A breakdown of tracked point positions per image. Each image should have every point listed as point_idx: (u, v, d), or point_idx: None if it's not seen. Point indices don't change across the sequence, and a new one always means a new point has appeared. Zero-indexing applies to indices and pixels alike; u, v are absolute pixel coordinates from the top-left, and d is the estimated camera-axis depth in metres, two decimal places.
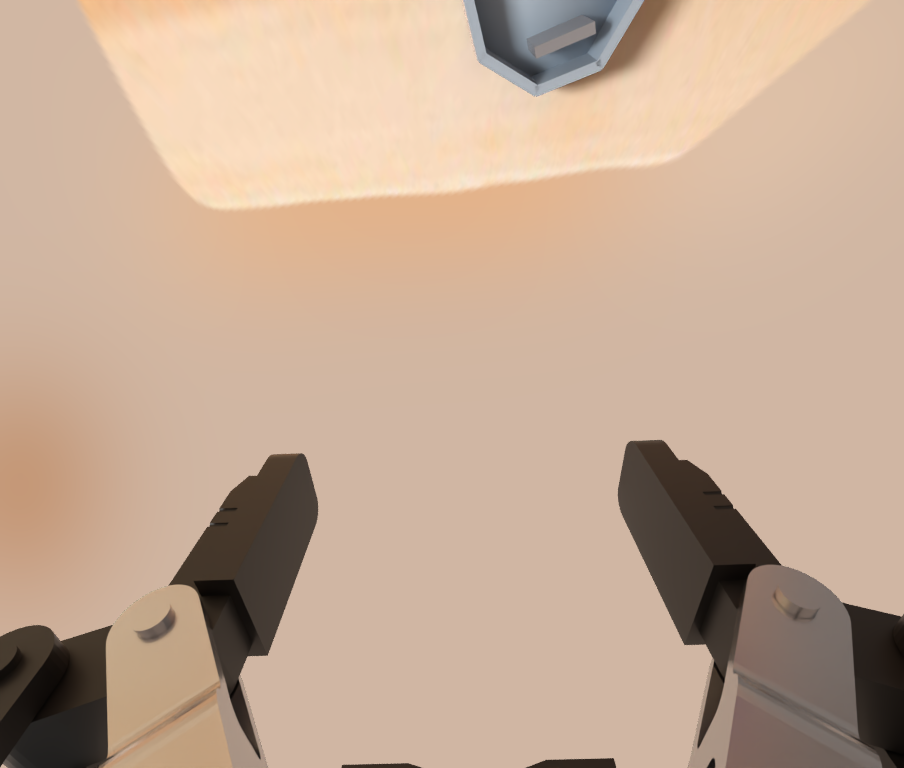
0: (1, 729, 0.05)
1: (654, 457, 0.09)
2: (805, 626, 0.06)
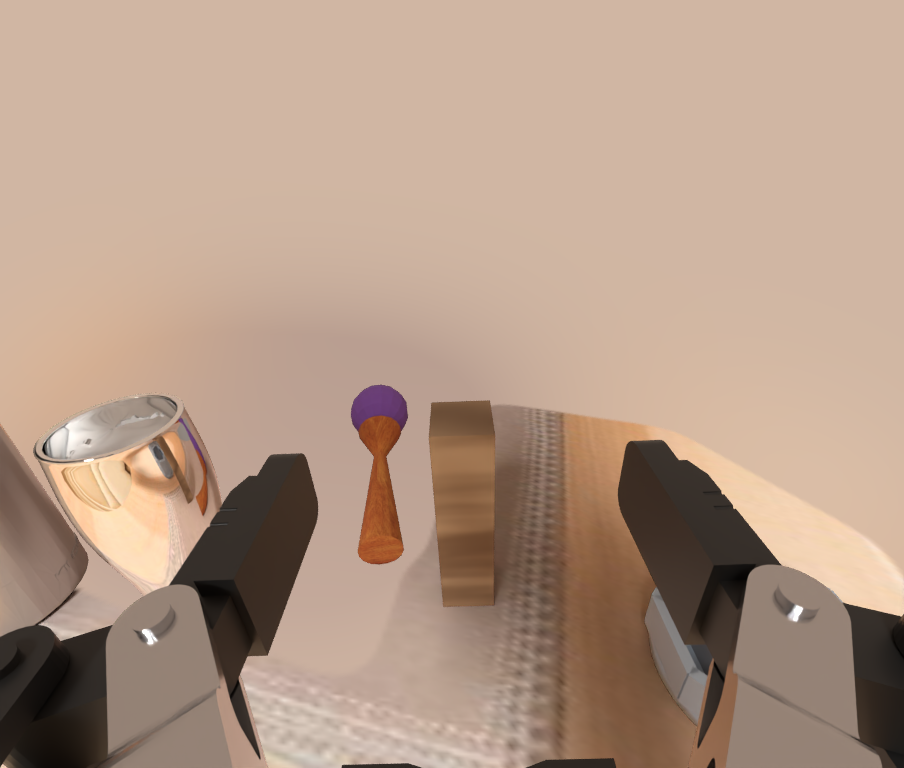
0: (0, 730, 0.05)
1: (654, 457, 0.09)
2: (805, 626, 0.06)
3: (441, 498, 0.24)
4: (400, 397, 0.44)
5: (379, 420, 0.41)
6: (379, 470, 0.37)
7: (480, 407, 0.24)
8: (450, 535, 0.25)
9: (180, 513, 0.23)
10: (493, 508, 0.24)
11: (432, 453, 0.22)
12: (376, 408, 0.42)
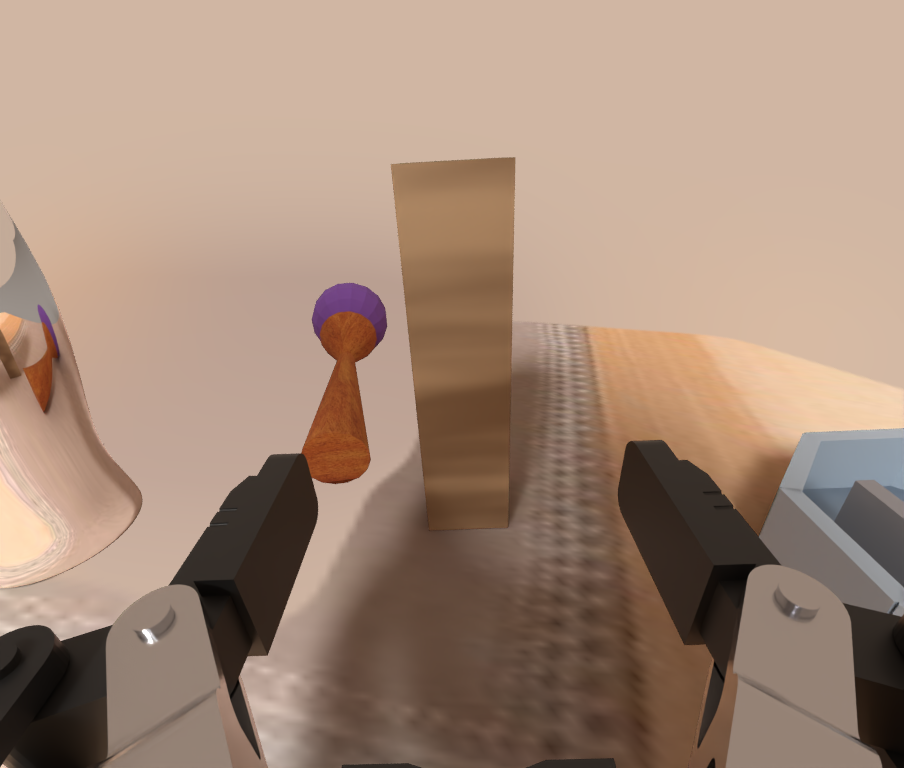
0: (0, 730, 0.05)
1: (654, 457, 0.09)
2: (805, 626, 0.06)
3: (419, 312, 0.14)
4: (376, 297, 0.34)
5: (347, 316, 0.31)
6: (342, 368, 0.26)
7: None
8: (436, 392, 0.15)
9: None
10: (510, 334, 0.14)
11: (399, 206, 0.12)
12: (344, 305, 0.32)
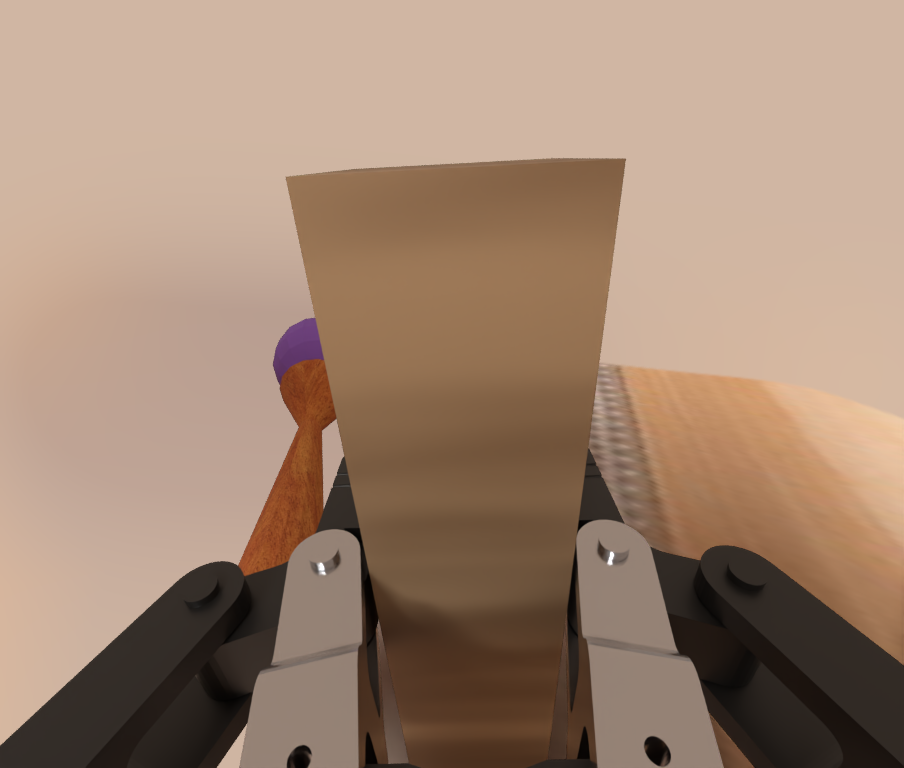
0: (192, 655, 0.06)
1: None
2: (612, 566, 0.07)
3: (380, 493, 0.06)
4: None
5: (314, 366, 0.23)
6: (299, 450, 0.19)
7: (524, 160, 0.07)
8: (421, 617, 0.08)
9: None
10: (573, 530, 0.07)
11: (318, 282, 0.05)
12: (311, 349, 0.24)
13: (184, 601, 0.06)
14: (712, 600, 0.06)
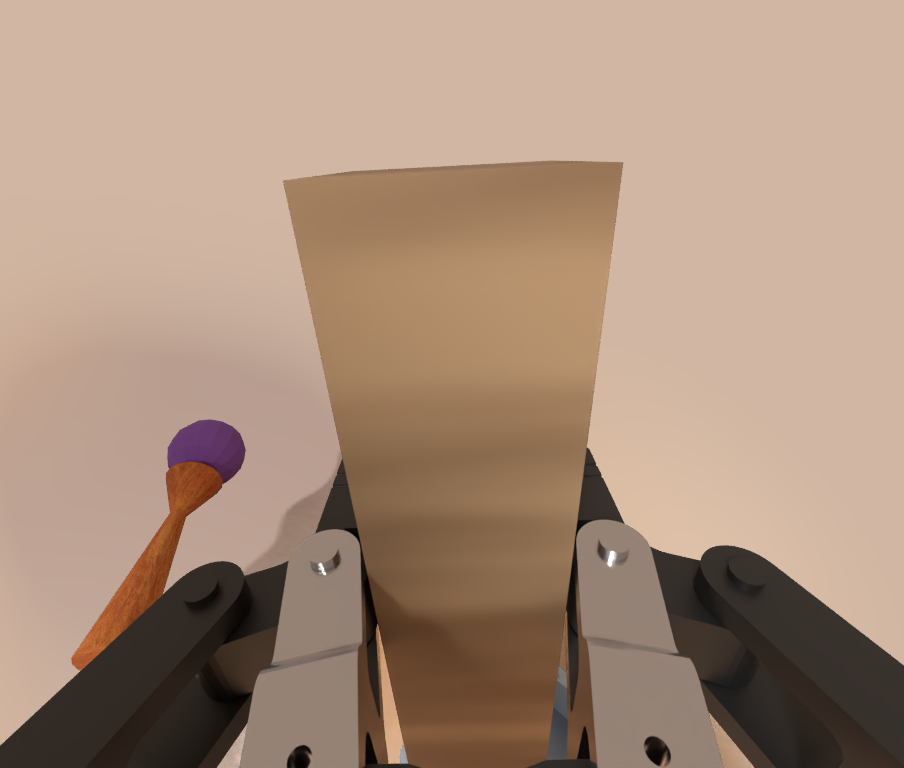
0: (192, 655, 0.06)
1: None
2: (611, 566, 0.07)
3: (378, 496, 0.06)
4: (229, 435, 0.37)
5: (186, 467, 0.33)
6: (158, 538, 0.29)
7: None
8: (420, 619, 0.08)
9: None
10: (571, 533, 0.07)
11: (316, 285, 0.05)
12: (189, 451, 0.35)
13: (184, 601, 0.06)
14: (712, 600, 0.06)
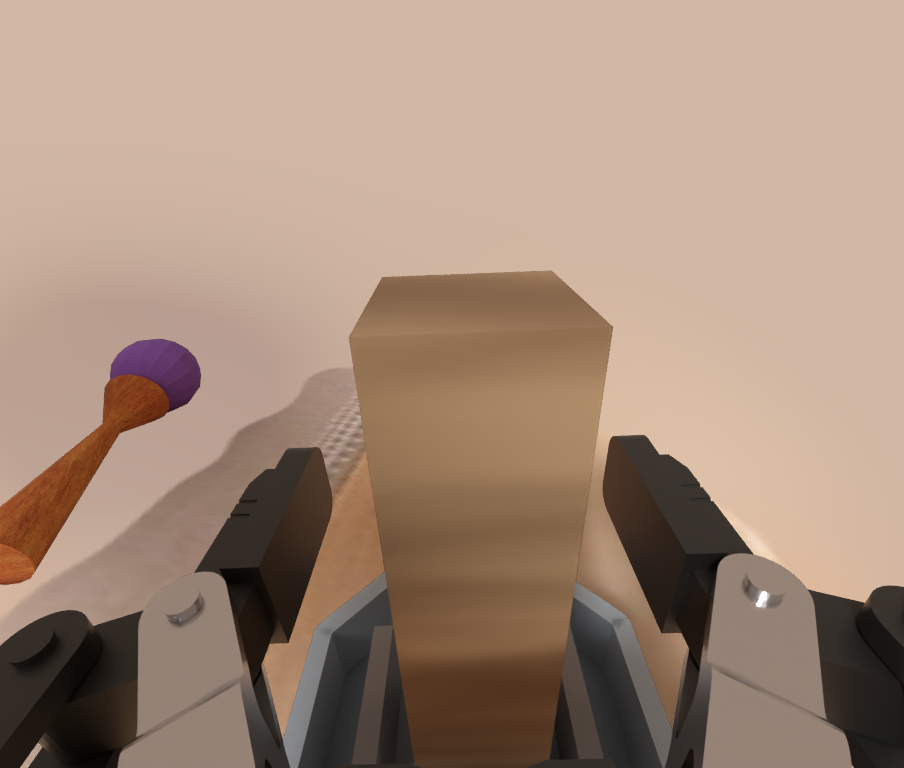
0: (35, 712, 0.05)
1: (635, 451, 0.09)
2: (770, 611, 0.06)
3: (407, 565, 0.07)
4: (180, 354, 0.33)
5: (125, 380, 0.30)
6: (80, 445, 0.26)
7: (529, 280, 0.08)
8: (436, 665, 0.09)
9: None
10: (570, 593, 0.08)
11: (368, 408, 0.06)
12: (132, 366, 0.31)
13: (12, 664, 0.06)
14: (877, 636, 0.06)
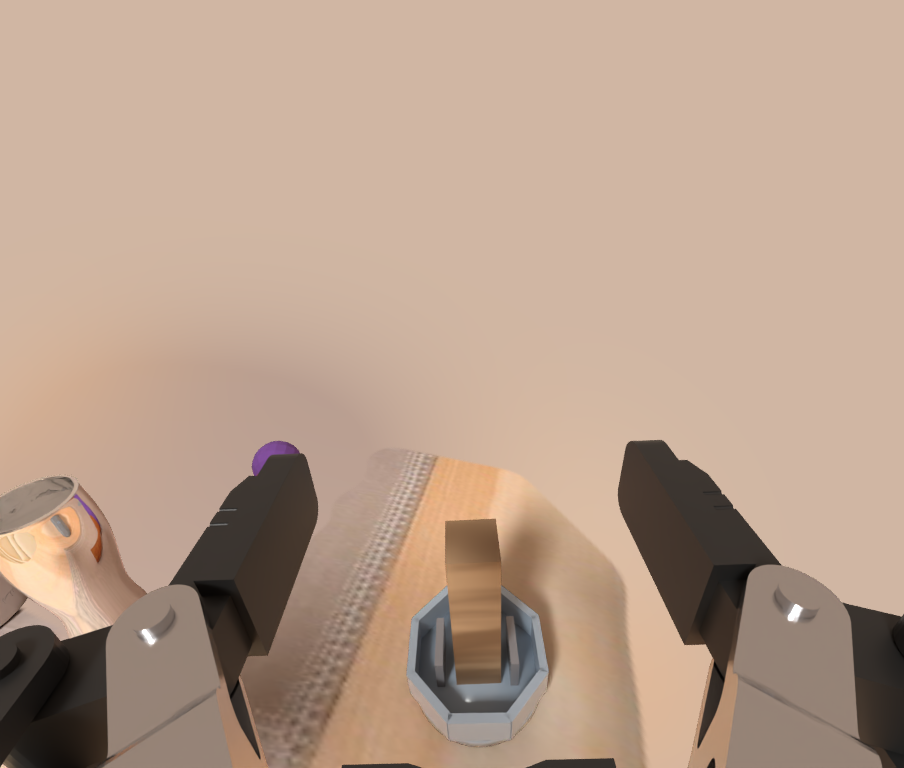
0: (0, 729, 0.05)
1: (654, 457, 0.09)
2: (805, 626, 0.06)
3: (455, 606, 0.28)
4: (293, 452, 0.54)
5: None
6: None
7: (487, 527, 0.28)
8: (463, 632, 0.29)
9: (74, 563, 0.33)
10: (500, 613, 0.28)
11: (448, 575, 0.26)
12: None
13: None
14: None
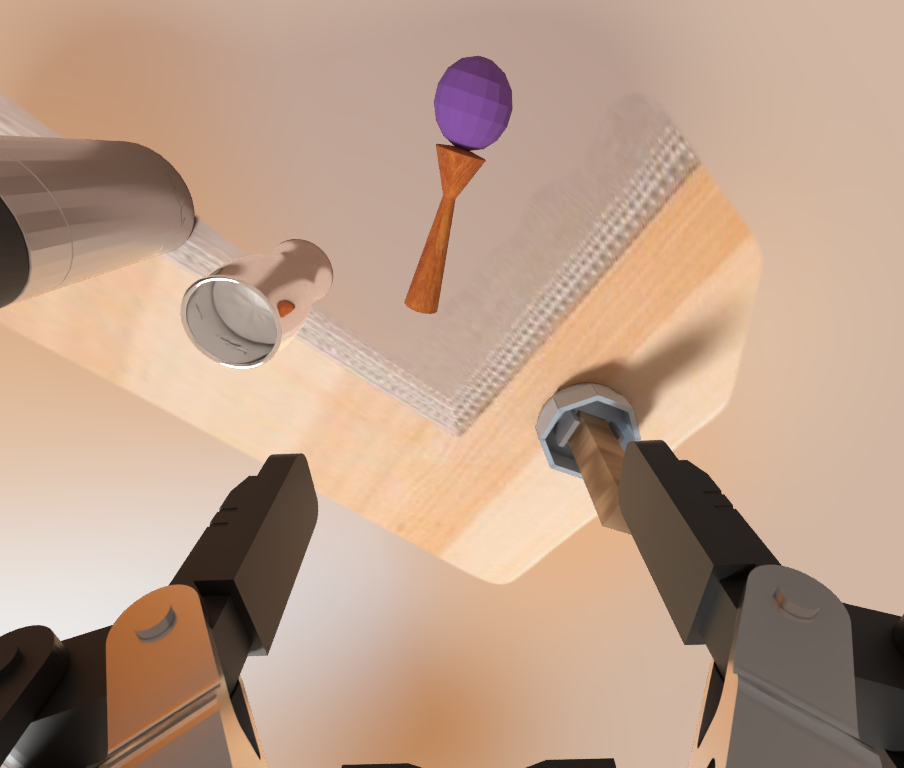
0: (0, 730, 0.05)
1: (654, 457, 0.09)
2: (805, 626, 0.06)
3: None
4: (504, 116, 0.31)
5: (462, 161, 0.33)
6: (440, 231, 0.37)
7: None
8: None
9: None
10: None
11: None
12: (464, 136, 0.32)
13: None
14: None
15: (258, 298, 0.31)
